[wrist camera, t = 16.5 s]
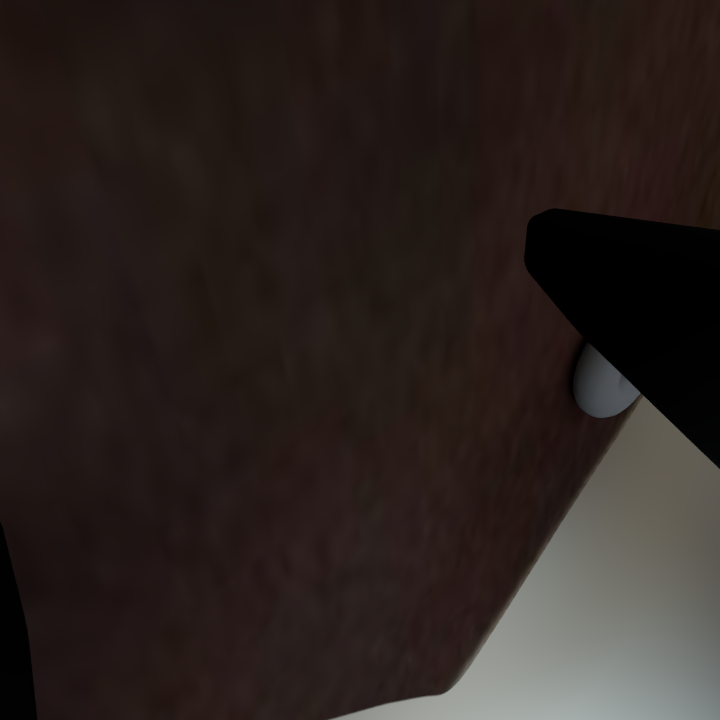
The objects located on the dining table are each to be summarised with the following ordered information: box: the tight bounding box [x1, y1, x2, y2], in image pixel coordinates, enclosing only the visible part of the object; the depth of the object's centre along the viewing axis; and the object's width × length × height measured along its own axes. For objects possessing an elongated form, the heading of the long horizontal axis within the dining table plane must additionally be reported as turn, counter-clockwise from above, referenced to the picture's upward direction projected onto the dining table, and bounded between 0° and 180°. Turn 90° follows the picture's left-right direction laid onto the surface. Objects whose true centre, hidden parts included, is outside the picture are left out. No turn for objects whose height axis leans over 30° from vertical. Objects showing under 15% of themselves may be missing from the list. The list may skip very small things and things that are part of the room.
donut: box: [573, 341, 640, 418], centre depth 43 cm, size 10×3×10 cm
